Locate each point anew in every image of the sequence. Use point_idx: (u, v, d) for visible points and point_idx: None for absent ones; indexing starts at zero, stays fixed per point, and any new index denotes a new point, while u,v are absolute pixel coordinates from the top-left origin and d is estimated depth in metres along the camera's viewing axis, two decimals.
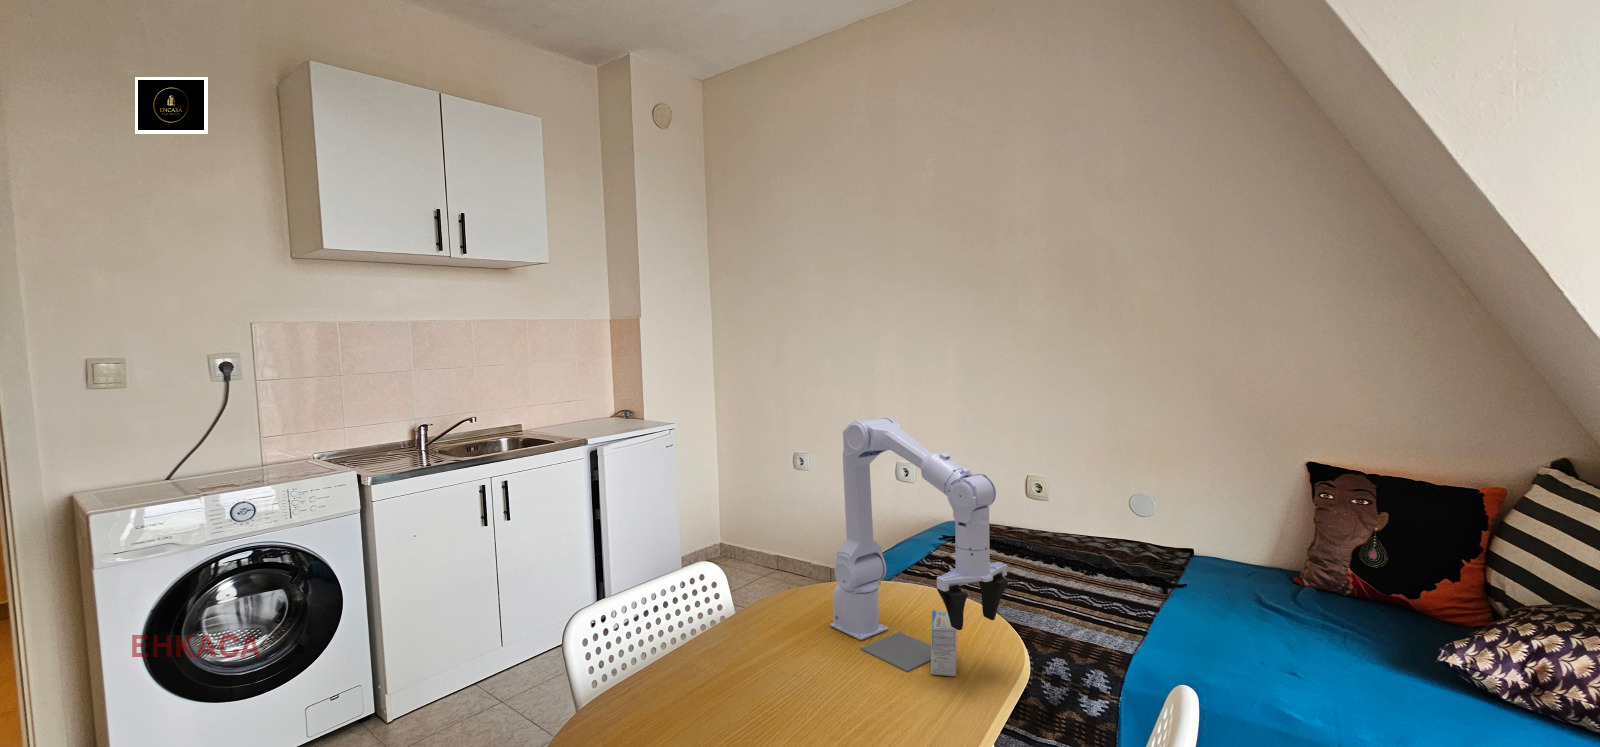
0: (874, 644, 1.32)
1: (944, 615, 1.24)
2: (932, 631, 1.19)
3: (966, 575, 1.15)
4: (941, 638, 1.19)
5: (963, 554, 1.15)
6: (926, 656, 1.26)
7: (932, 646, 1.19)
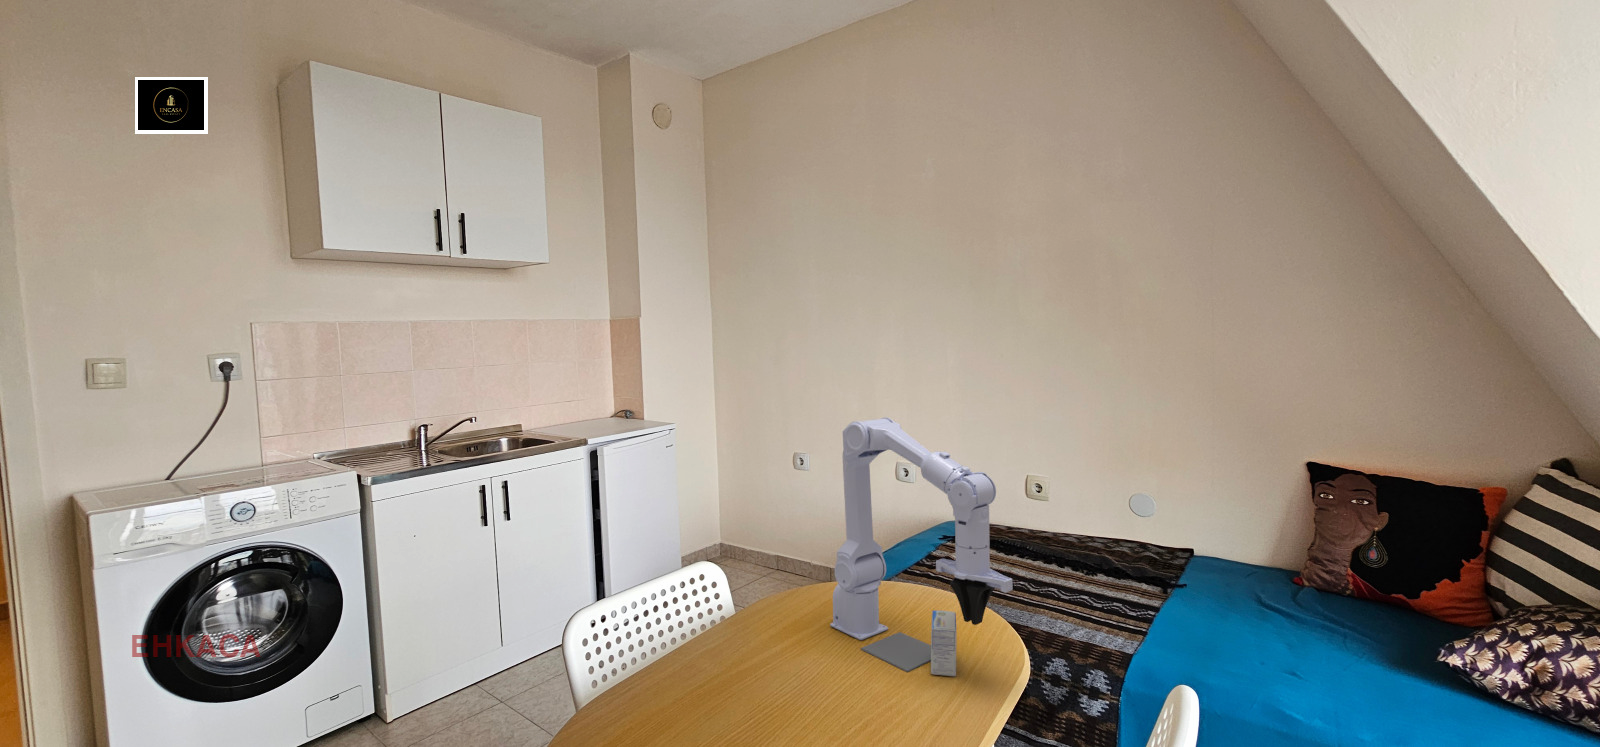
0: (874, 644, 1.32)
1: (944, 615, 1.24)
2: (932, 631, 1.19)
3: (955, 567, 1.18)
4: (941, 638, 1.19)
5: None
6: (926, 656, 1.26)
7: (932, 646, 1.19)
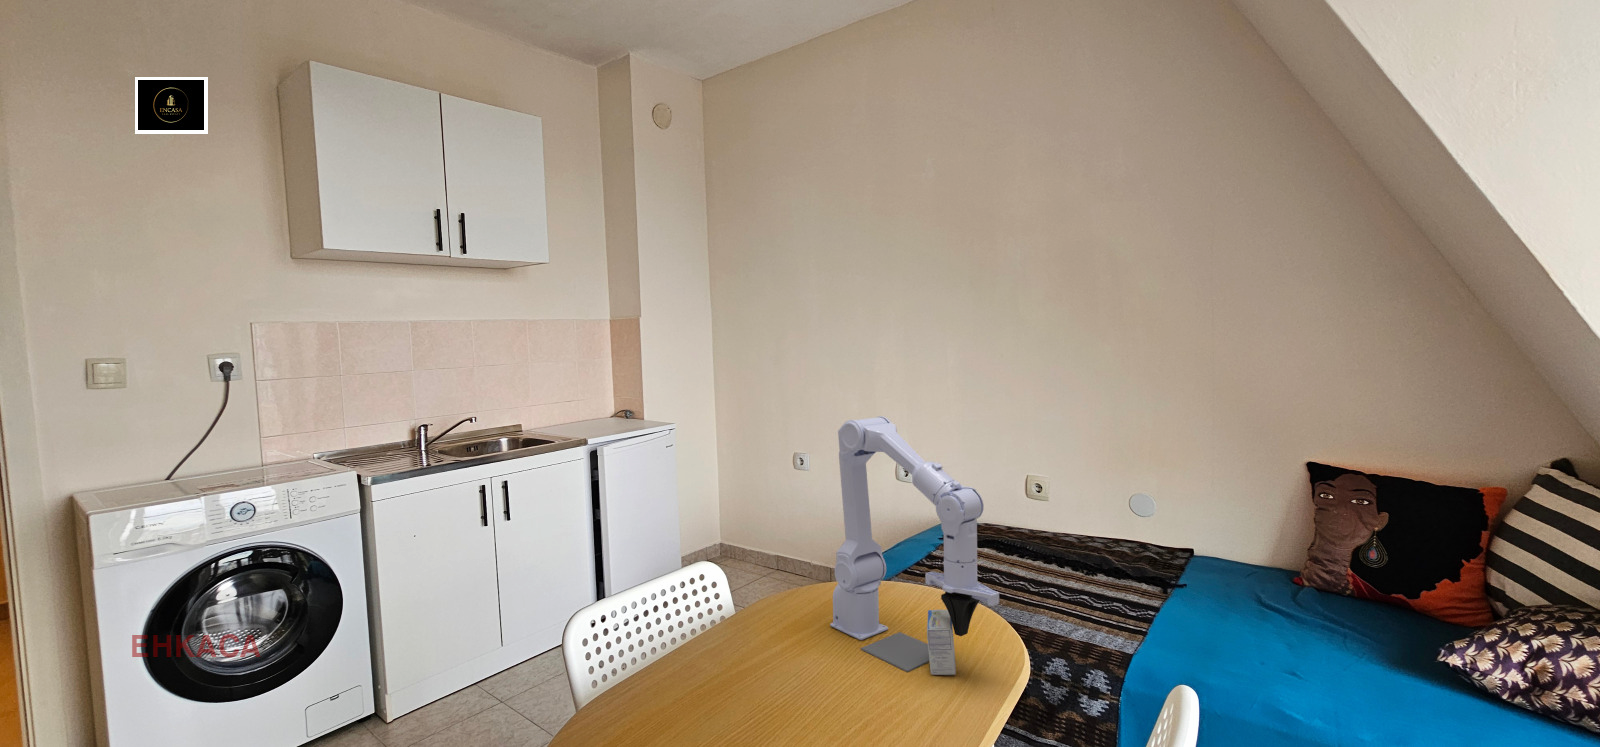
0: (874, 644, 1.32)
1: (939, 614, 1.24)
2: (928, 632, 1.19)
3: (944, 580, 1.20)
4: (937, 638, 1.19)
5: None
6: (926, 656, 1.26)
7: (929, 647, 1.19)
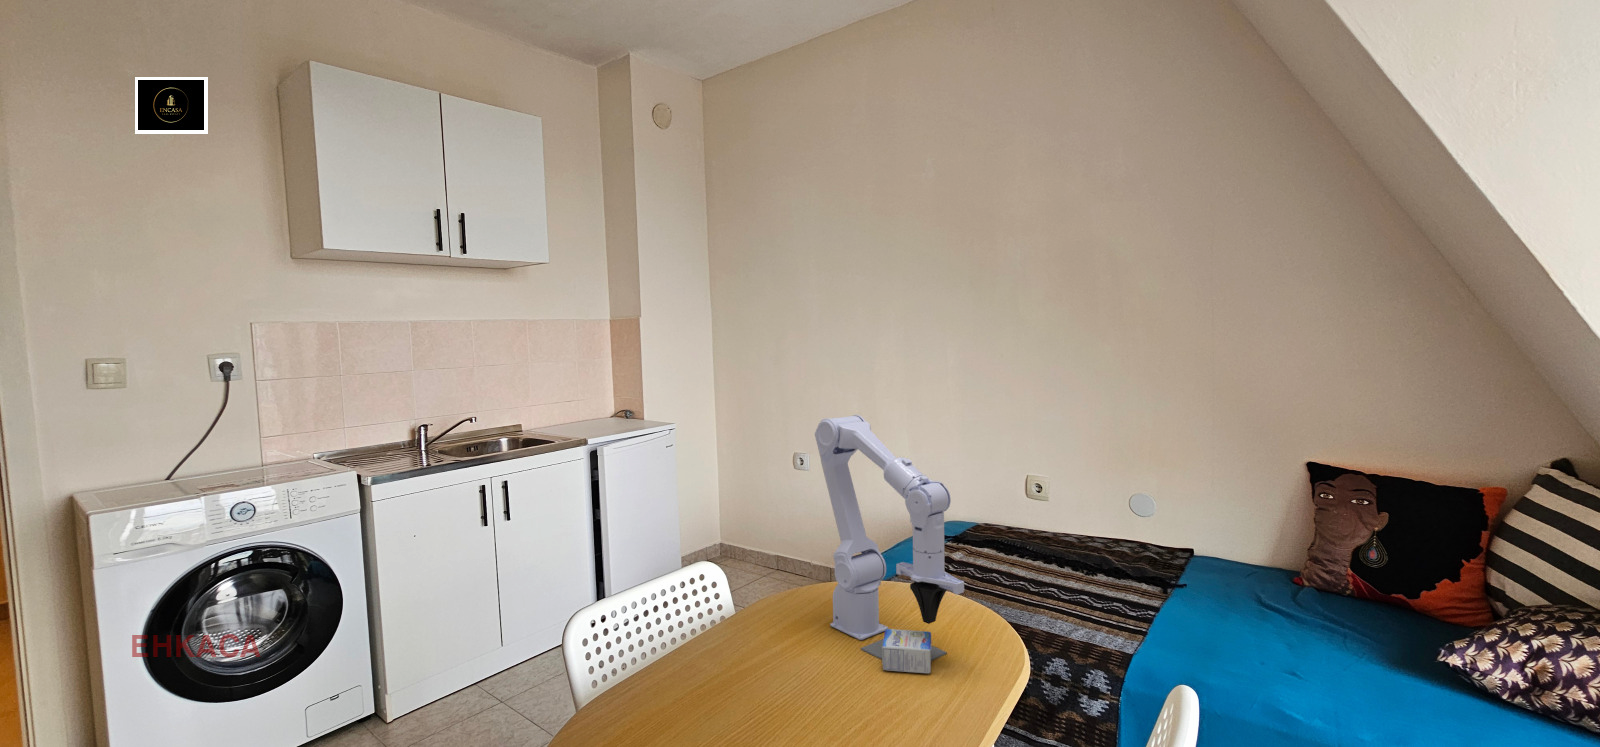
0: (874, 644, 1.32)
1: None
2: (885, 669, 1.21)
3: (913, 570, 1.26)
4: (891, 661, 1.21)
5: None
6: None
7: (901, 670, 1.21)
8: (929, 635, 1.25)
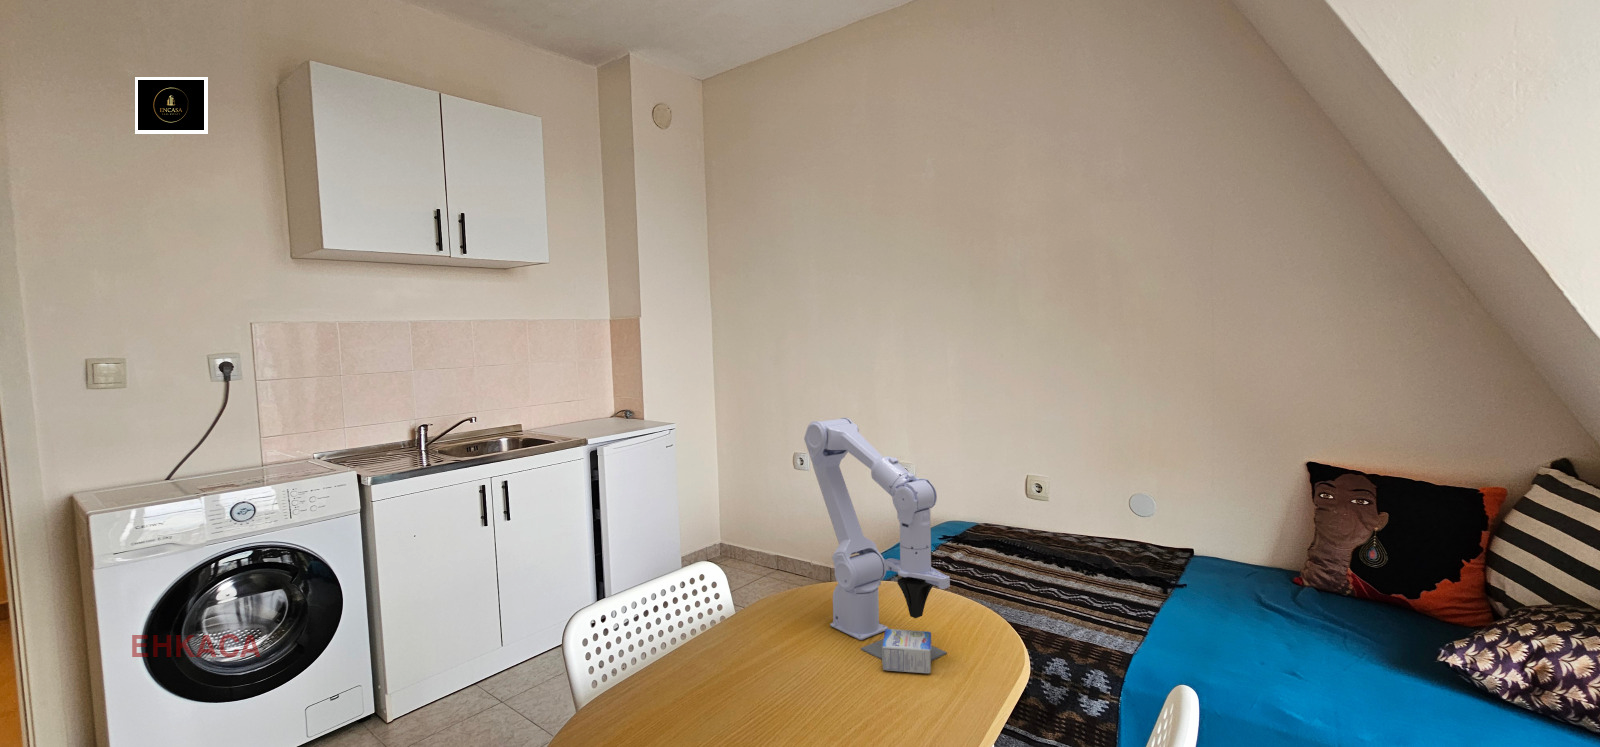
0: (874, 644, 1.32)
1: None
2: (885, 669, 1.21)
3: None
4: (891, 661, 1.21)
5: None
6: None
7: (901, 670, 1.21)
8: (929, 635, 1.25)
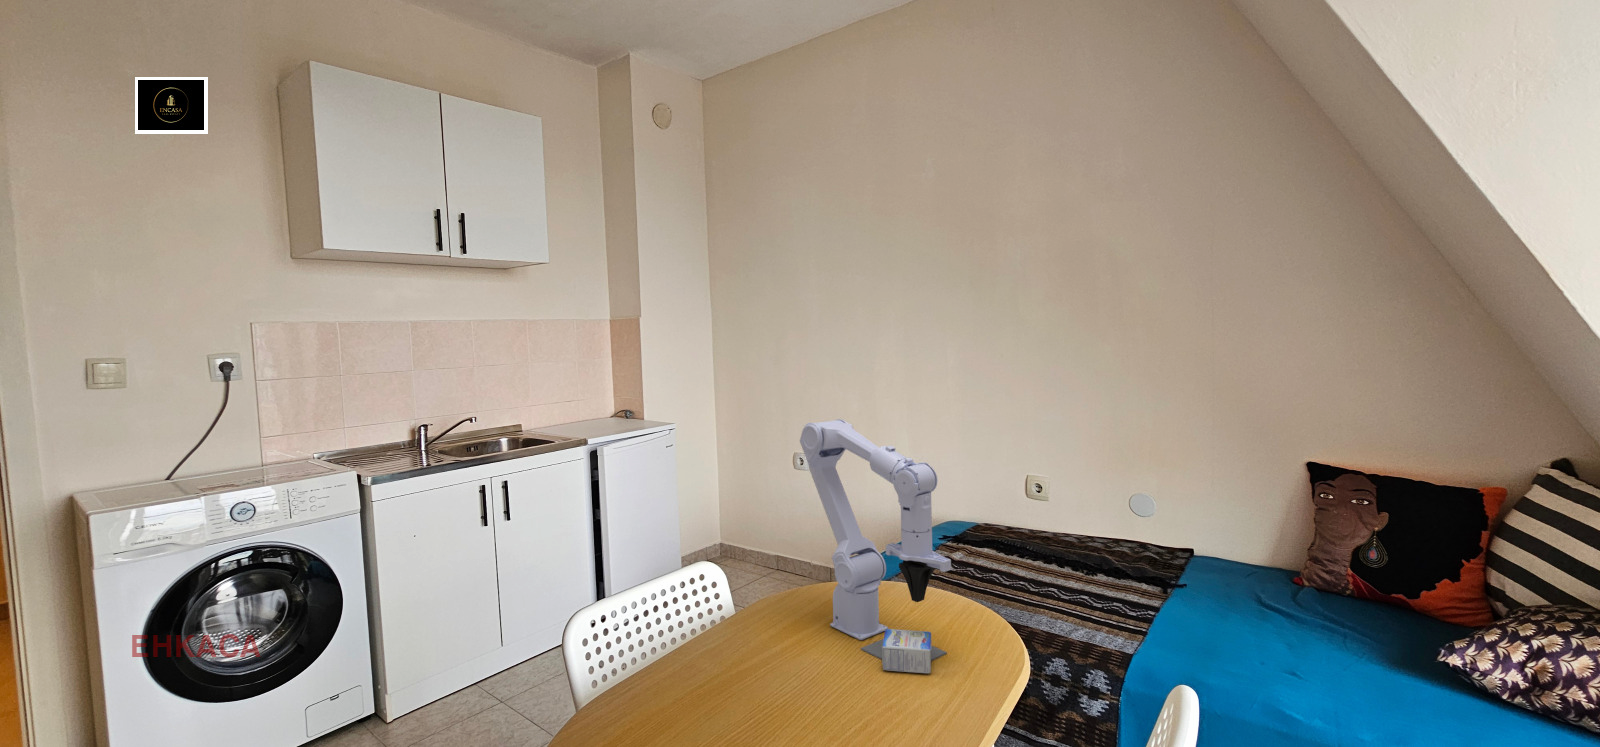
0: (874, 644, 1.32)
1: None
2: (885, 669, 1.21)
3: (901, 550, 1.29)
4: (891, 661, 1.21)
5: None
6: None
7: (901, 670, 1.21)
8: (929, 635, 1.25)
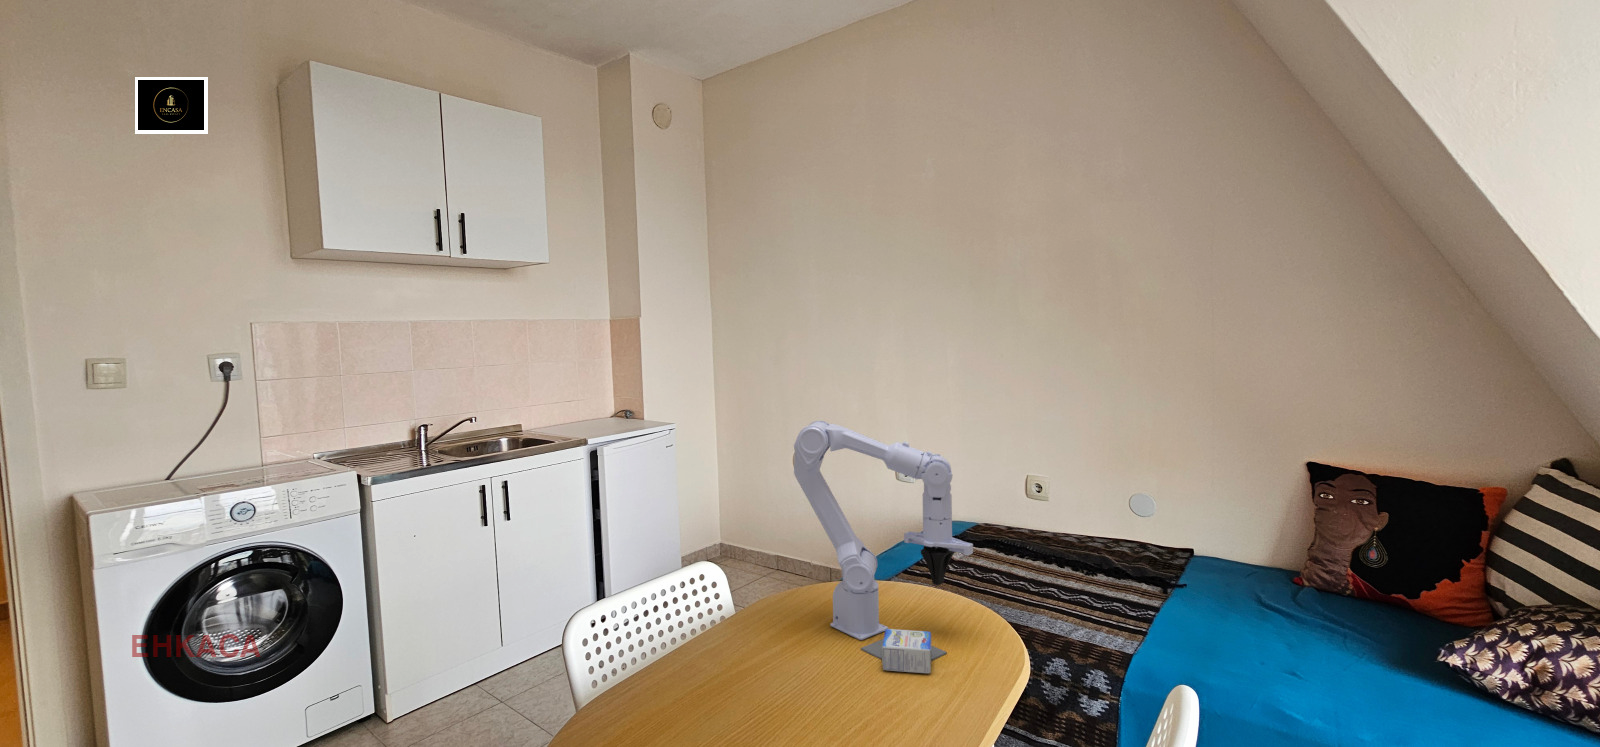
0: (874, 644, 1.32)
1: None
2: (885, 669, 1.21)
3: (922, 537, 1.37)
4: (891, 661, 1.21)
5: None
6: None
7: (901, 670, 1.21)
8: (929, 635, 1.25)
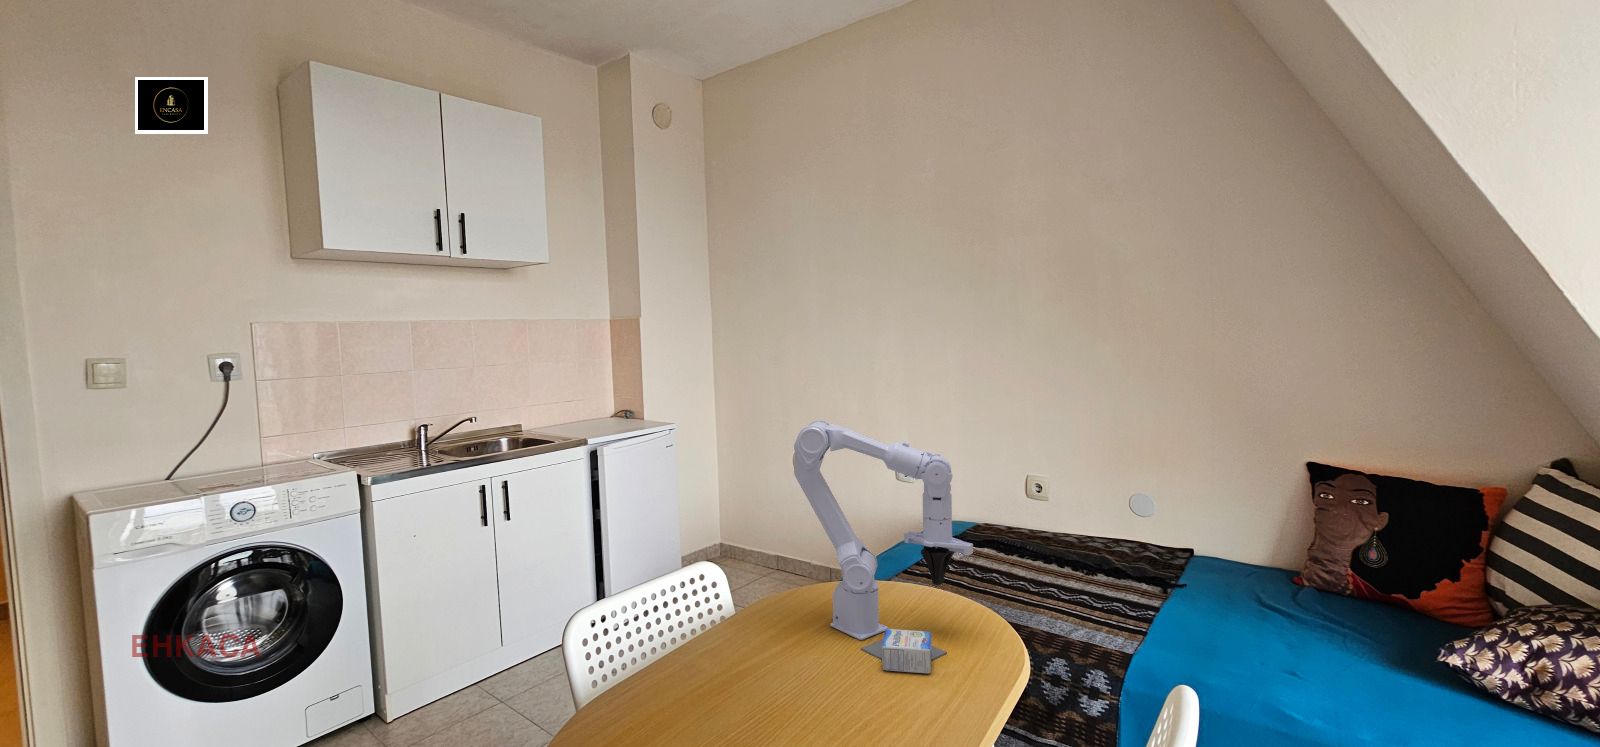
0: (874, 644, 1.32)
1: None
2: (885, 669, 1.21)
3: (922, 537, 1.37)
4: (891, 661, 1.21)
5: None
6: None
7: (901, 670, 1.21)
8: (929, 635, 1.25)
